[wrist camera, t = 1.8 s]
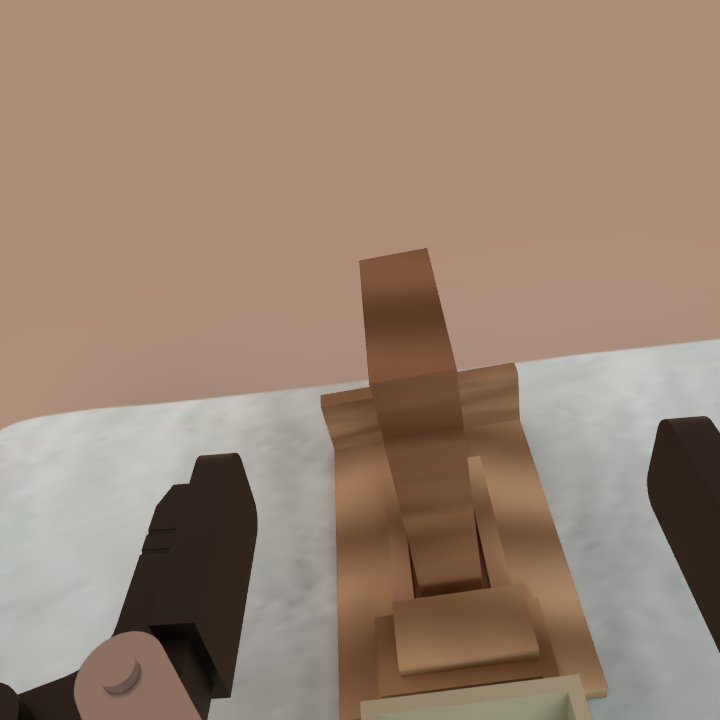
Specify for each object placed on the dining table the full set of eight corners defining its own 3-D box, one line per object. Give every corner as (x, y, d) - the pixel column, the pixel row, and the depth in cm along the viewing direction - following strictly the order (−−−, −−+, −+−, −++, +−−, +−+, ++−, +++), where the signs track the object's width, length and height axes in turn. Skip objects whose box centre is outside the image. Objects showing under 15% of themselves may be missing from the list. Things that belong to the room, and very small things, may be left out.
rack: (606, 696, 29) (613, 645, 25) (344, 728, 30) (319, 683, 27) (516, 419, 42) (514, 362, 39) (337, 448, 43) (320, 395, 40)
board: (485, 605, 32) (456, 369, 22) (425, 613, 32) (369, 383, 22) (459, 479, 38) (427, 248, 28) (409, 486, 38) (359, 260, 28)
